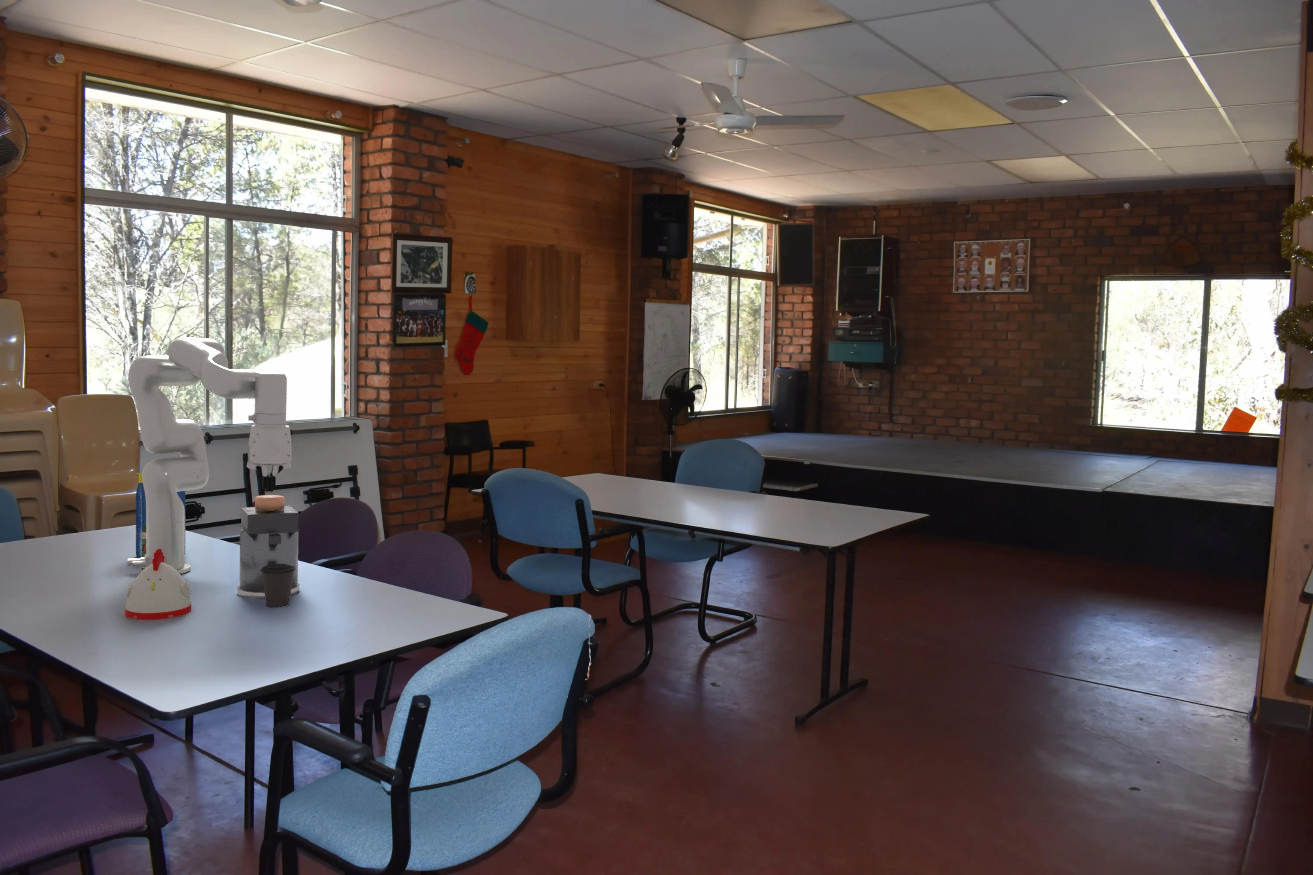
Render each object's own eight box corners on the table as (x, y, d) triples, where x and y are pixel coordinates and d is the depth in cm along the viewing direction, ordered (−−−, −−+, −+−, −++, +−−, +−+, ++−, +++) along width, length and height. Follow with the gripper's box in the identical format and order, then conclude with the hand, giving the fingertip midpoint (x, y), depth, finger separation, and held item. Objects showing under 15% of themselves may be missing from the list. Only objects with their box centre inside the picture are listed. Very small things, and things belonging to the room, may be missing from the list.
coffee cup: (282, 610, 232) (283, 569, 231) (253, 607, 234) (253, 566, 233) (301, 602, 240) (302, 563, 239) (272, 599, 242) (273, 560, 241)
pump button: (257, 528, 243) (257, 499, 242) (253, 524, 249) (253, 495, 248) (286, 527, 246) (286, 498, 246) (281, 522, 252) (281, 494, 252)
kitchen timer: (117, 620, 218) (117, 555, 217) (133, 605, 231) (133, 544, 230) (184, 618, 222) (184, 554, 220) (196, 604, 235) (196, 543, 234)
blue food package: (135, 556, 285) (135, 472, 283) (178, 551, 293) (179, 470, 291) (141, 559, 280) (141, 474, 279) (185, 555, 289) (185, 472, 287)
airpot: (243, 604, 236) (243, 517, 234) (233, 588, 252) (234, 506, 250) (306, 598, 244) (307, 515, 242) (294, 583, 259) (295, 504, 258)
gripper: (240, 421, 239) (239, 494, 240) (303, 421, 246) (301, 492, 248) (236, 418, 245) (235, 489, 247) (298, 419, 253) (296, 488, 254)
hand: (268, 490), depth 247 cm, fingers closed
